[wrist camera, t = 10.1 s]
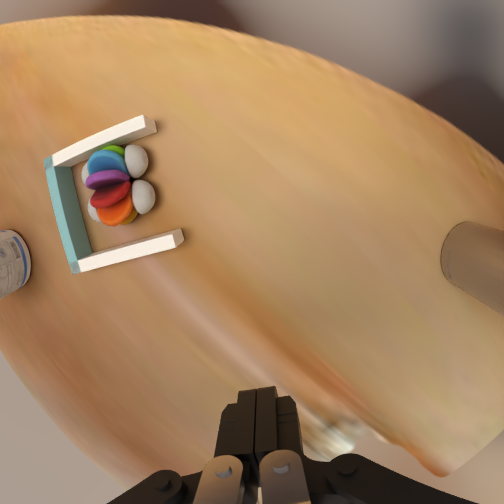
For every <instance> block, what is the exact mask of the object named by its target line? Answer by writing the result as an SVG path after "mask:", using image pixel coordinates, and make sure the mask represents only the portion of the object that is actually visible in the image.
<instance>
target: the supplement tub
mask: <svg viewBox="0 0 504 504" xmlns="http://www.w3.org/2000/svg"><path fill="white" fill-rule="evenodd" d="M30 270H31V261H30V255H29V251H28V248H27V246H26V244H25V242H24V241H23V239H22V238H21V237H20V236H19V235H18V234H17V233H16V232H14V231H12V230H2V231H0V299H1V298H3V297H5V296H6V295H8V294H10V293H12V292H13V291H15V290H17V289H19V288H20V287H22V286H23V285H24V284H25V283H26V282H27V280H28V278H29V275H30Z"/></svg>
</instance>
